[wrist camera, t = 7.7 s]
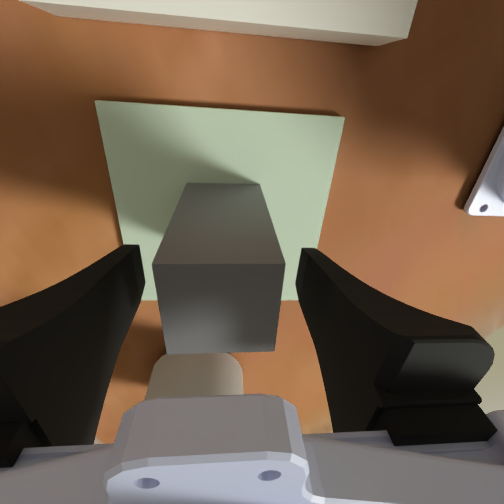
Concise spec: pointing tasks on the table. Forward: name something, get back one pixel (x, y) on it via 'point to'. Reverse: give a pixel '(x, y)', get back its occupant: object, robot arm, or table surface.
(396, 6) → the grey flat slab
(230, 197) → the plug
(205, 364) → the can
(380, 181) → the table surface
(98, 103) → the mat
